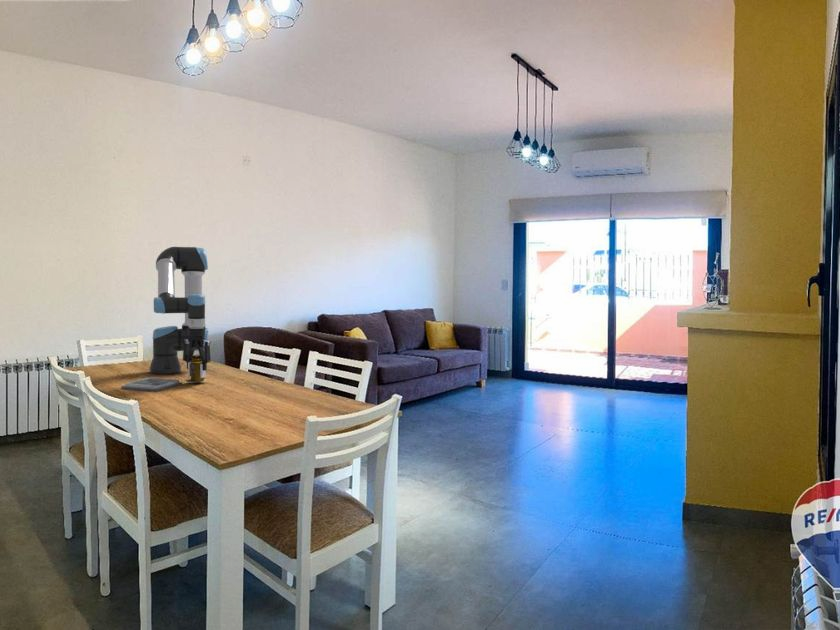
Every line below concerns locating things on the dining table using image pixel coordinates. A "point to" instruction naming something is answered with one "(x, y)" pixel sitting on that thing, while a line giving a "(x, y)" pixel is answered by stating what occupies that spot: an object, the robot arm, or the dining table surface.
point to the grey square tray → (152, 384)
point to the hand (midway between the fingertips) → (196, 376)
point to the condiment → (195, 370)
